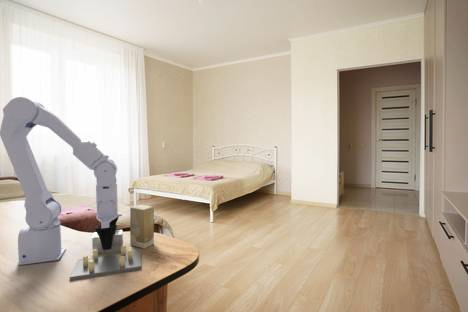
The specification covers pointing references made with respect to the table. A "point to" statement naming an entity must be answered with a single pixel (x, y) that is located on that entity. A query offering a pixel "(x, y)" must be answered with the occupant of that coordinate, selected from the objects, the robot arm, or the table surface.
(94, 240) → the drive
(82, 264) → the grey peg board
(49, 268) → the table surface
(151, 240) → the skincare box
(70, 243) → the table surface
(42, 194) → the robot arm
